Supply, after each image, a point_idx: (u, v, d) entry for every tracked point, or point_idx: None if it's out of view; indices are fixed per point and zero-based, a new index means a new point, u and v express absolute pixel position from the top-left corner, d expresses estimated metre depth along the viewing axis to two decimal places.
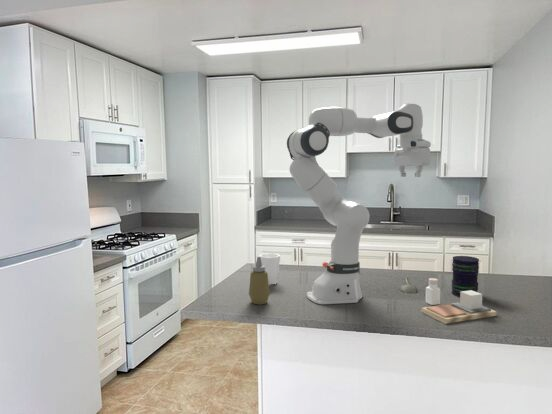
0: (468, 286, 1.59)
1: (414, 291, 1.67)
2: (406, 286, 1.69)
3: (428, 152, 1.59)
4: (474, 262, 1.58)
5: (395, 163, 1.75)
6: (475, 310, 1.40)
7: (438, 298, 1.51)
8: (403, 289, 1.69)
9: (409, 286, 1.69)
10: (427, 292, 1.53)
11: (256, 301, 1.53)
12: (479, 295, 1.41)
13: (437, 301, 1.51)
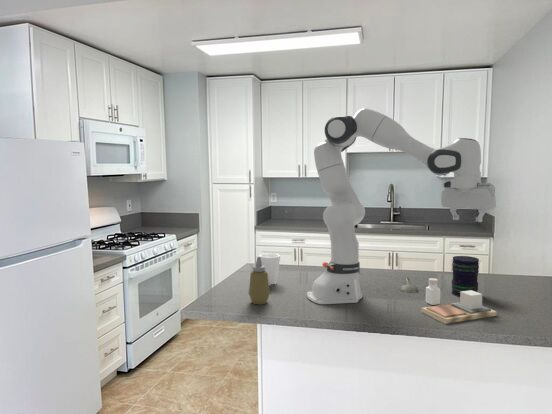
0: (468, 286, 1.59)
1: (414, 291, 1.67)
2: (406, 286, 1.70)
3: None
4: (474, 262, 1.58)
5: None
6: (475, 310, 1.40)
7: (438, 298, 1.51)
8: (403, 289, 1.69)
9: (409, 286, 1.69)
10: (427, 292, 1.53)
11: (256, 301, 1.53)
12: (479, 295, 1.41)
13: (437, 301, 1.51)
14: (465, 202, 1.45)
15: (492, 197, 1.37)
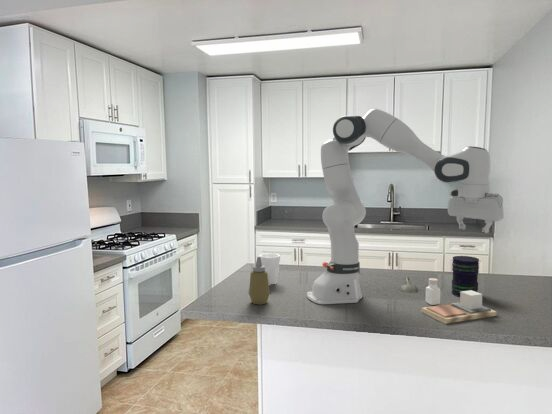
0: (468, 286, 1.59)
1: (414, 291, 1.67)
2: (406, 286, 1.70)
3: None
4: (474, 262, 1.58)
5: None
6: (475, 310, 1.40)
7: (438, 298, 1.51)
8: (403, 289, 1.69)
9: (409, 286, 1.70)
10: (427, 292, 1.53)
11: (256, 301, 1.53)
12: (479, 295, 1.41)
13: (437, 301, 1.51)
14: (472, 212, 1.42)
15: (500, 208, 1.34)
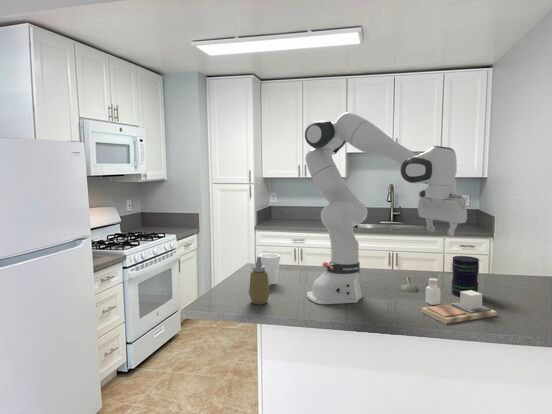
0: (468, 286, 1.59)
1: (414, 290, 1.68)
2: (406, 285, 1.70)
3: None
4: (474, 262, 1.58)
5: None
6: (475, 310, 1.40)
7: (438, 298, 1.51)
8: (403, 288, 1.70)
9: (409, 285, 1.70)
10: (427, 292, 1.53)
11: (256, 301, 1.53)
12: (479, 295, 1.41)
13: (437, 301, 1.51)
14: (438, 214, 1.37)
15: (462, 210, 1.29)
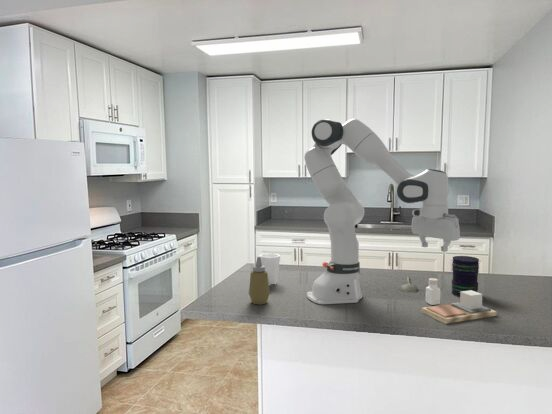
0: (468, 286, 1.59)
1: (414, 290, 1.68)
2: (406, 285, 1.71)
3: None
4: (474, 262, 1.58)
5: None
6: (475, 310, 1.40)
7: (438, 298, 1.51)
8: (403, 288, 1.70)
9: (409, 285, 1.70)
10: (427, 292, 1.53)
11: (256, 301, 1.53)
12: (479, 295, 1.41)
13: (437, 301, 1.51)
14: (432, 231, 1.49)
15: (456, 228, 1.41)
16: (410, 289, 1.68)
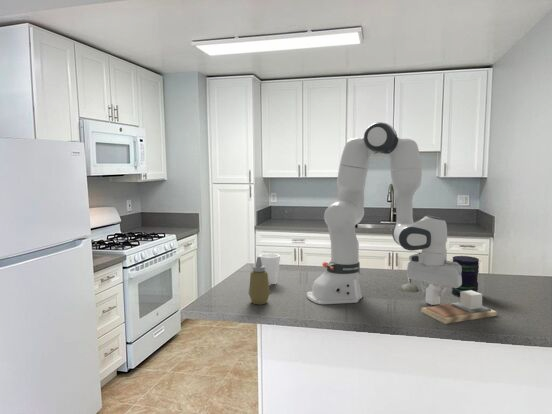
0: (468, 286, 1.59)
1: (414, 290, 1.69)
2: (406, 285, 1.71)
3: None
4: (474, 262, 1.58)
5: None
6: (475, 310, 1.40)
7: (438, 298, 1.51)
8: (403, 288, 1.71)
9: (409, 285, 1.71)
10: (427, 292, 1.53)
11: (256, 301, 1.53)
12: (479, 295, 1.41)
13: (437, 301, 1.51)
14: (432, 278, 1.50)
15: (459, 276, 1.45)
16: (410, 289, 1.69)
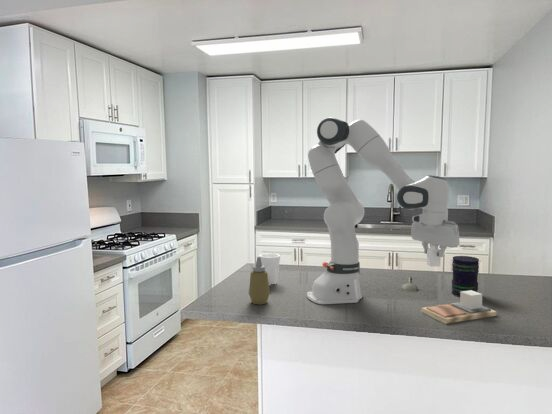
0: (468, 286, 1.59)
1: (414, 290, 1.69)
2: (406, 285, 1.72)
3: None
4: (474, 262, 1.58)
5: None
6: (475, 310, 1.40)
7: (438, 260, 1.50)
8: (403, 287, 1.71)
9: (409, 285, 1.71)
10: (427, 253, 1.52)
11: (256, 301, 1.53)
12: (479, 295, 1.41)
13: (437, 263, 1.50)
14: (432, 238, 1.49)
15: (455, 235, 1.42)
16: (410, 288, 1.69)
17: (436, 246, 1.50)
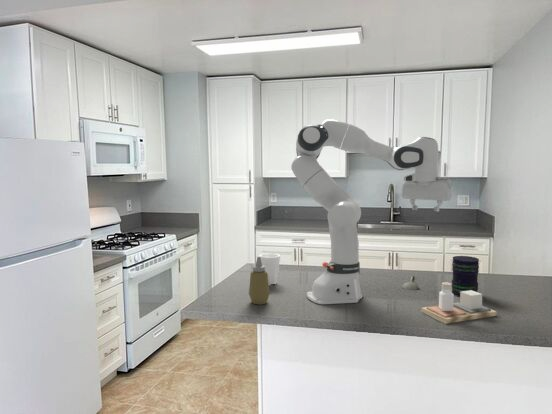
0: (468, 286, 1.59)
1: (415, 288, 1.71)
2: (407, 283, 1.74)
3: None
4: (474, 262, 1.58)
5: None
6: (475, 310, 1.40)
7: (451, 305, 1.38)
8: (404, 286, 1.73)
9: (410, 283, 1.73)
10: (439, 296, 1.41)
11: (256, 301, 1.53)
12: (479, 295, 1.41)
13: (449, 308, 1.38)
14: (425, 194, 1.63)
15: (449, 189, 1.57)
16: (410, 287, 1.71)
17: (448, 290, 1.38)
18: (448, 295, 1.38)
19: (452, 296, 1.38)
